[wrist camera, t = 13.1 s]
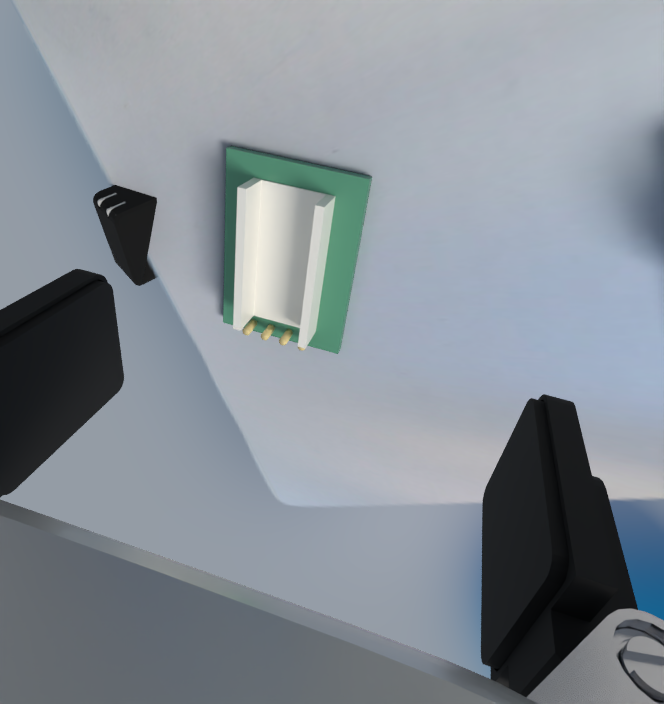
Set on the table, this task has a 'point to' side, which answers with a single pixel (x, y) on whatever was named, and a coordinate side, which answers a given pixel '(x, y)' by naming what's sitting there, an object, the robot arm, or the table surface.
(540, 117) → the table surface
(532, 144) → the table surface
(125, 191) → the electronic device
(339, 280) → the board
